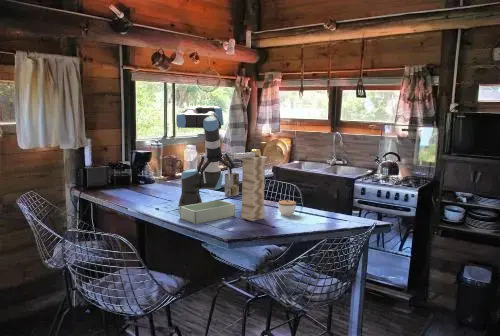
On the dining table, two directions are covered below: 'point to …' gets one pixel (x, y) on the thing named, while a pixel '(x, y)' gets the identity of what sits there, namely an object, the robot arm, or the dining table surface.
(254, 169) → the stand
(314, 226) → the dining table surface
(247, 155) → the strut
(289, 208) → the lidded jar
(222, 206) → the bin
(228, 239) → the dining table surface
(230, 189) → the coffee box
